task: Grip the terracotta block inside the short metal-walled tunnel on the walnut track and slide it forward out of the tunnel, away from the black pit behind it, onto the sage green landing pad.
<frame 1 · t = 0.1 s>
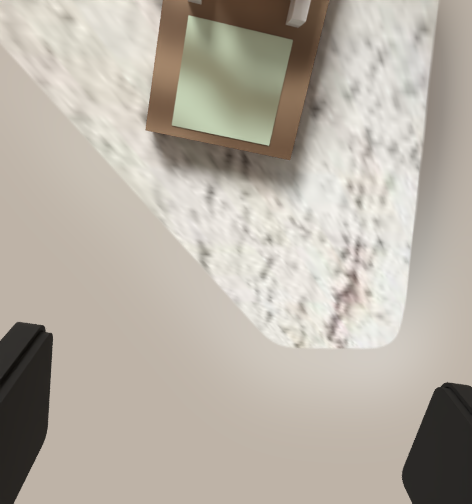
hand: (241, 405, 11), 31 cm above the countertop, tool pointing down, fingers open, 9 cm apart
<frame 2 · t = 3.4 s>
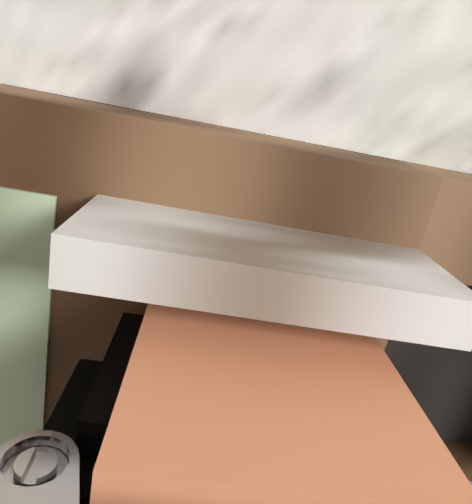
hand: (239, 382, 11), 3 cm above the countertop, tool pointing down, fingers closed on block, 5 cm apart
block: (239, 372, 12), point 3 cm above the countertop, touching gripper, track
track: (211, 315, 15), on the countertop
when the fingers open (4 cm above the countertop, at t = 7.3 s): block stays where it is, resting on track.
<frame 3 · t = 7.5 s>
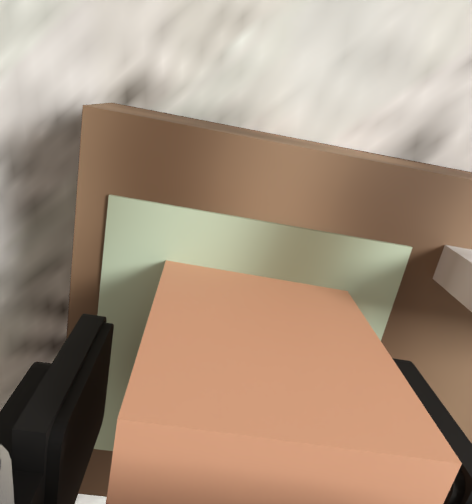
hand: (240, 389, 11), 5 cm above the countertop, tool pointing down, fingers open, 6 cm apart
block: (240, 355, 13), point 3 cm above the countertop, touching track
track: (450, 338, 16), on the countertop
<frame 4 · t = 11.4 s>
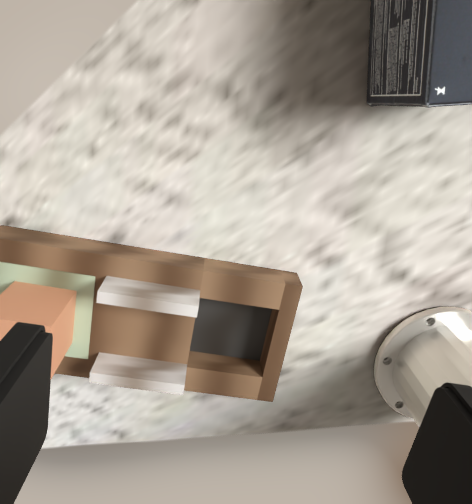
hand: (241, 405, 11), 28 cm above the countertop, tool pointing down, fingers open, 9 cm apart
block: (44, 312, 37), point 3 cm above the countertop, touching track
track: (146, 309, 41), on the countertop
small box: (408, 32, 34), on the countertop
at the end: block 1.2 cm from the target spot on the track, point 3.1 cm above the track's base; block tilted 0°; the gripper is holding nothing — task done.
